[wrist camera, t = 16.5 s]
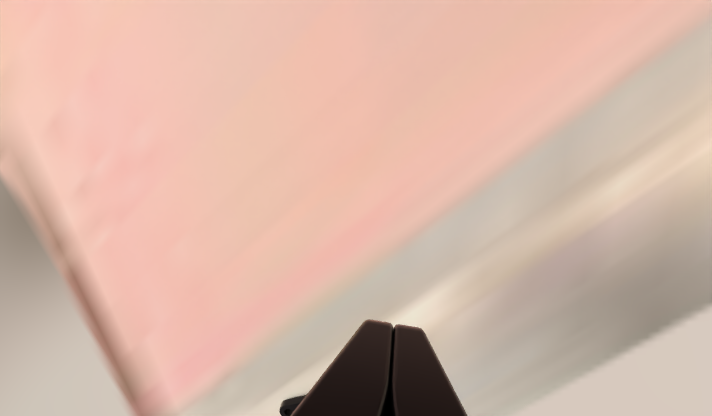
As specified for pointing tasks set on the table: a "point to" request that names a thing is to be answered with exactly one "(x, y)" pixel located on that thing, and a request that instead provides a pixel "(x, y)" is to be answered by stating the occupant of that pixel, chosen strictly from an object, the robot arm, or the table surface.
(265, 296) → the table surface
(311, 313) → the table surface
